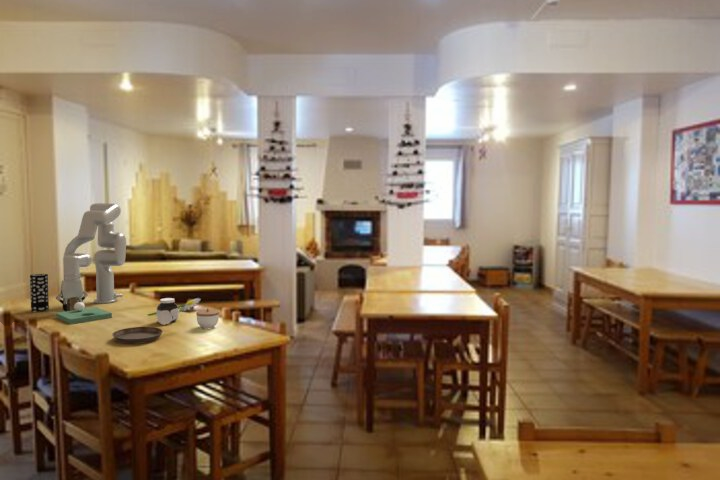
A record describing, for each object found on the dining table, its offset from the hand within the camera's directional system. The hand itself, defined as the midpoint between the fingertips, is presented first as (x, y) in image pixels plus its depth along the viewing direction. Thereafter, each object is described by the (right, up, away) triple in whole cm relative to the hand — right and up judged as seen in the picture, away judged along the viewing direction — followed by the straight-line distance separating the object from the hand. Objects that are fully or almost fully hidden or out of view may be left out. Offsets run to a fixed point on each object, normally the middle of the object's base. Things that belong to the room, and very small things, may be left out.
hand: (72, 309), depth 268 cm
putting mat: (+12, -3, -10) cm, 16 cm away
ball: (+8, +3, -7) cm, 11 cm away
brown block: (0, -2, 0) cm, 2 cm away
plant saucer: (+58, -7, -48) cm, 75 cm away
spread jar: (+59, -4, -17) cm, 61 cm away
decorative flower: (+53, -3, +7) cm, 54 cm away
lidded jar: (+82, -5, -25) cm, 86 cm away
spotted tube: (-21, -1, +5) cm, 22 cm away
